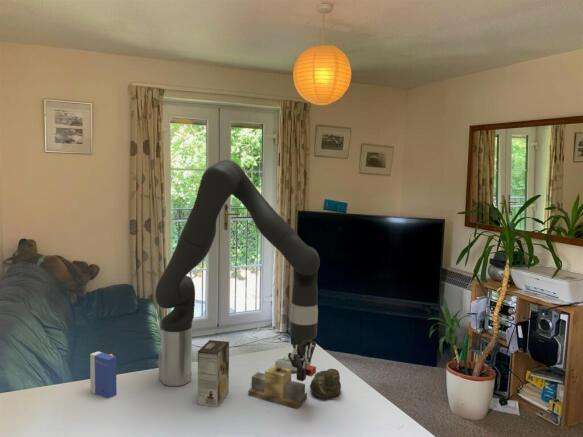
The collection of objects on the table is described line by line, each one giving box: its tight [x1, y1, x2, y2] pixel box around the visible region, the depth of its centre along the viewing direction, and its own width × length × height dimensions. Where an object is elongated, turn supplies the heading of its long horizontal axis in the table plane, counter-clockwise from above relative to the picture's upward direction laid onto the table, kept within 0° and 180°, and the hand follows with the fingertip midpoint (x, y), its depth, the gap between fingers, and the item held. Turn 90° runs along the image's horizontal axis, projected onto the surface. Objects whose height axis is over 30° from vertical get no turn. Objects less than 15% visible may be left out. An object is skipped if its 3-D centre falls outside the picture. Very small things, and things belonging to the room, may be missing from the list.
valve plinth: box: [247, 364, 308, 410], centre depth 132 cm, size 16×7×8 cm, turn 65°
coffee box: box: [197, 339, 230, 408], centre depth 130 cm, size 9×6×16 cm
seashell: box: [309, 368, 342, 399], centre depth 136 cm, size 11×12×10 cm
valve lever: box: [274, 358, 317, 377], centre depth 129 cm, size 12×3×3 cm, turn 62°
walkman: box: [89, 351, 117, 399], centre depth 131 cm, size 8×3×12 cm, turn 63°
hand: (301, 379), depth 124 cm, fingers closed
